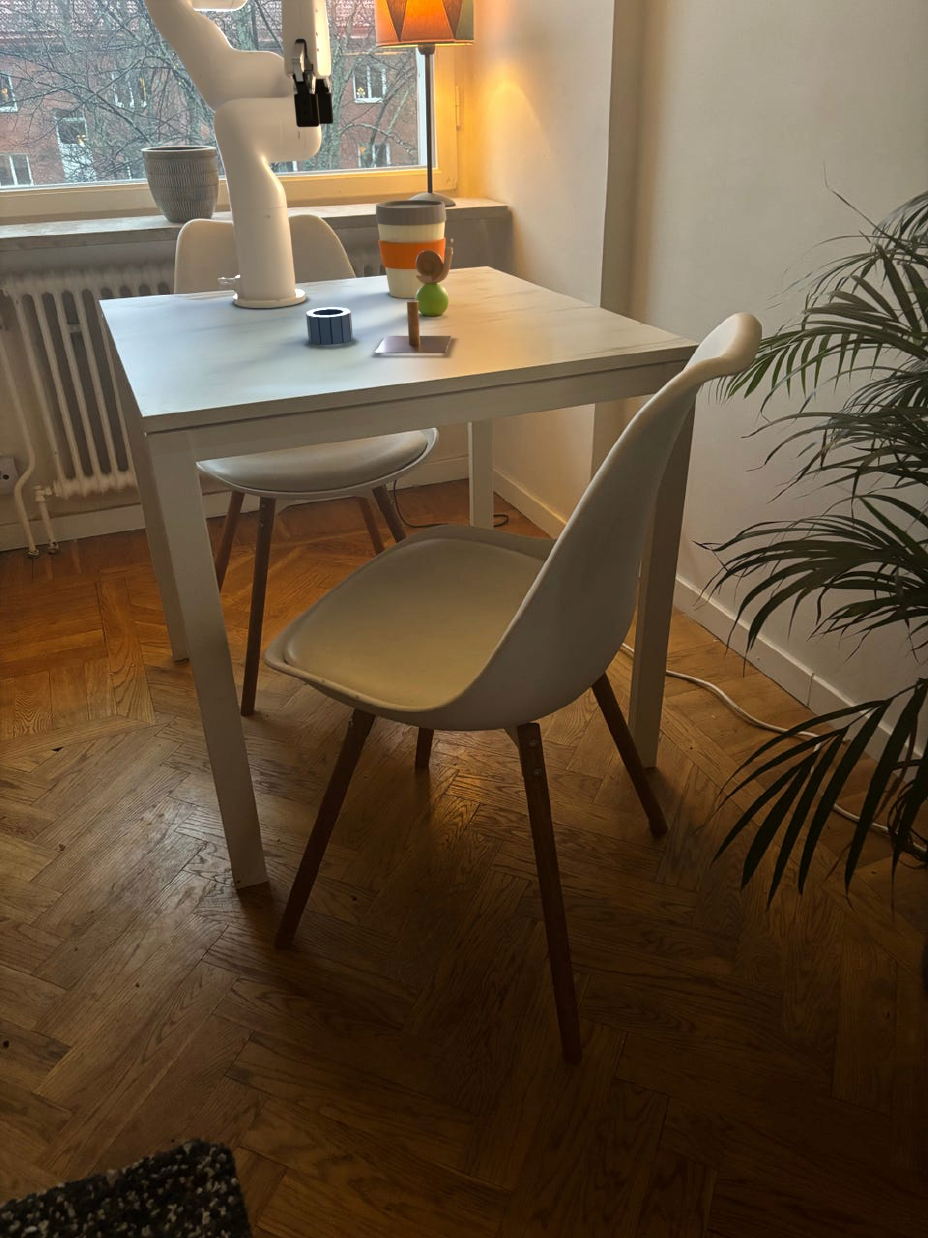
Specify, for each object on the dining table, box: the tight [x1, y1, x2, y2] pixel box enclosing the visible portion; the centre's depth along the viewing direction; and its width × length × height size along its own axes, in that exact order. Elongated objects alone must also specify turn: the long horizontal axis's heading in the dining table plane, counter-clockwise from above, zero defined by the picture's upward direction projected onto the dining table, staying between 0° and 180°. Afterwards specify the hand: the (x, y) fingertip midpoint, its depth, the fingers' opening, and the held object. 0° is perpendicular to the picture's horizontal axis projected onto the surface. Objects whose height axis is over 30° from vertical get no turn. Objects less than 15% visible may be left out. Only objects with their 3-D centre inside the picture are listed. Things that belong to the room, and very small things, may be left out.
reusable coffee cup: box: [375, 199, 448, 299], centre depth 167 cm, size 13×13×15 cm
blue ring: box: [305, 307, 354, 346], centre depth 138 cm, size 6×6×4 cm
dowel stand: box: [374, 299, 453, 354], centre depth 134 cm, size 10×10×7 cm
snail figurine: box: [414, 238, 454, 317], centre depth 150 cm, size 5×6×12 cm
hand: (315, 125), depth 136 cm, fingers open, 9 cm apart
